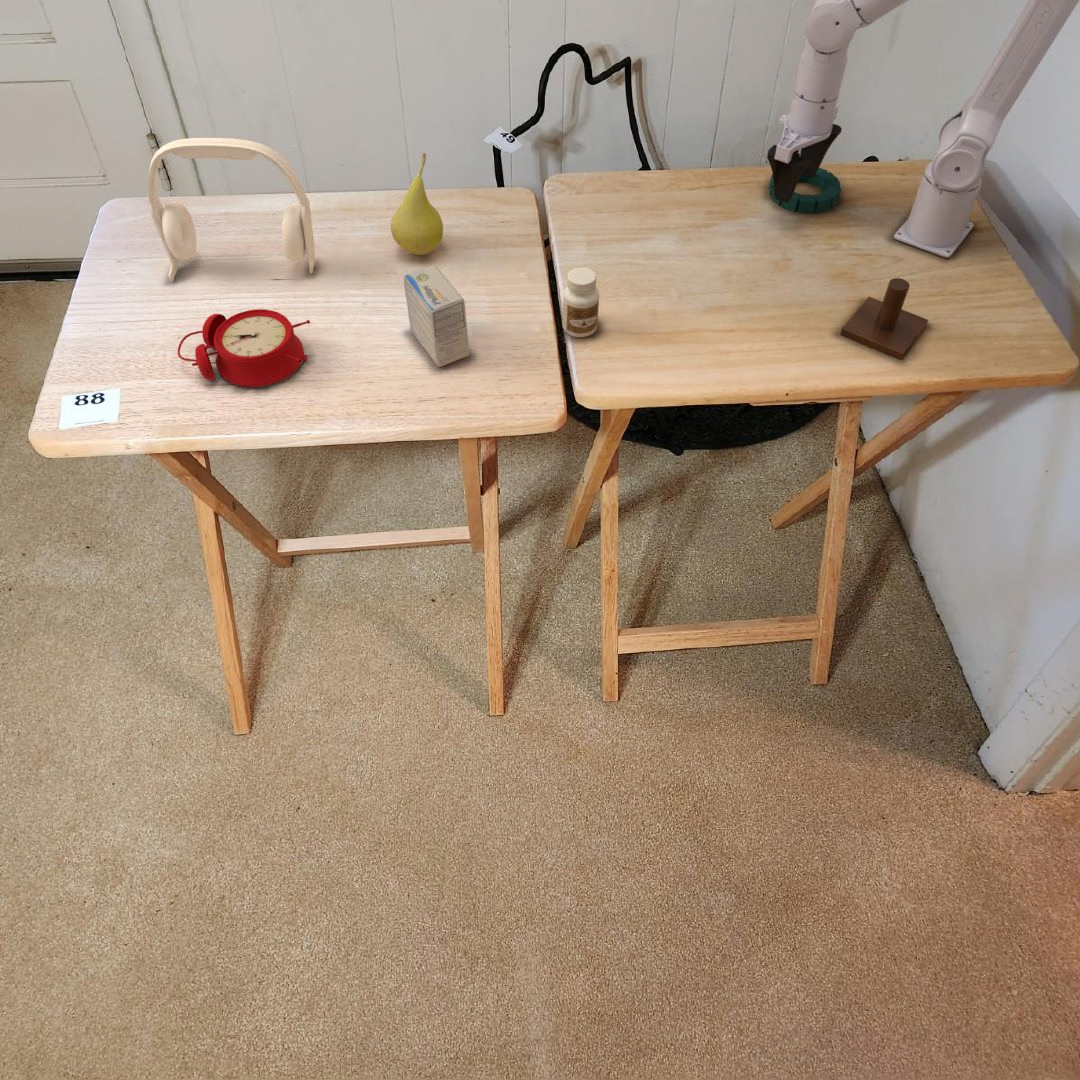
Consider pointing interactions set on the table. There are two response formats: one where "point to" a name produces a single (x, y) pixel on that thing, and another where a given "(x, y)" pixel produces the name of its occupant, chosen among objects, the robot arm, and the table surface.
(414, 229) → the fruit
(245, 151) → the headset
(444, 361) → the medicine box
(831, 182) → the ring
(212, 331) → the alarm clock
